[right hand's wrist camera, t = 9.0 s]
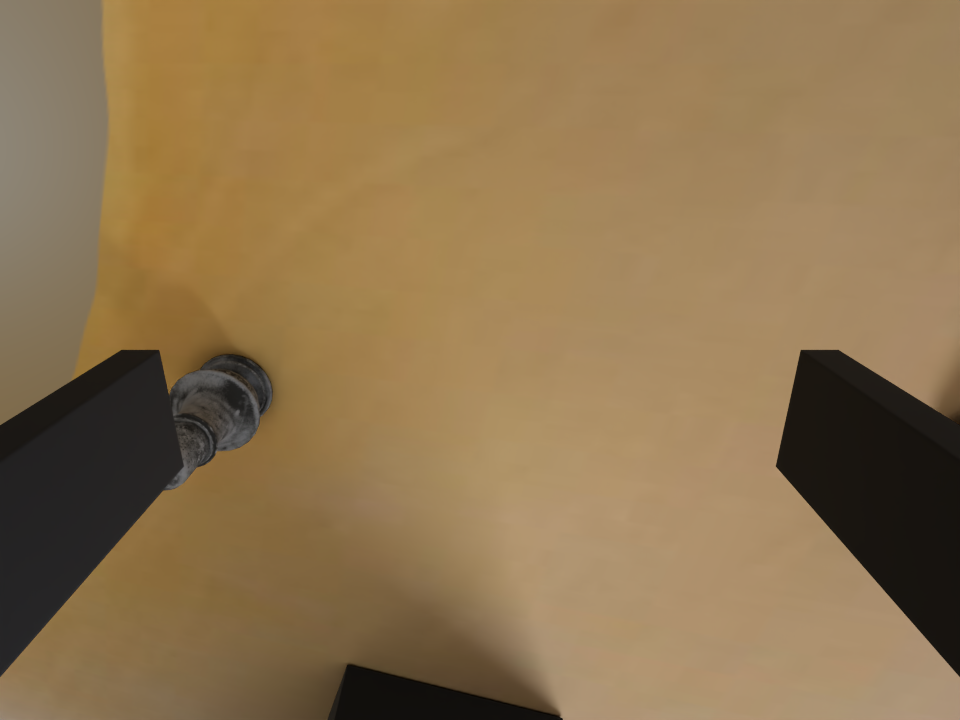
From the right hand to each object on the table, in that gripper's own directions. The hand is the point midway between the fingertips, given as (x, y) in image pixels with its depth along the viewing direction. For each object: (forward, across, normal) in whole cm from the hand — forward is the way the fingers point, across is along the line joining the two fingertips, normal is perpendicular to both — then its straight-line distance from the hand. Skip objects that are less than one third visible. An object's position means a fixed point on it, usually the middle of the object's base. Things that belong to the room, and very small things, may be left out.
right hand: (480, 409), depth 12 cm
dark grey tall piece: (+27, -17, -12) cm, 34 cm away
